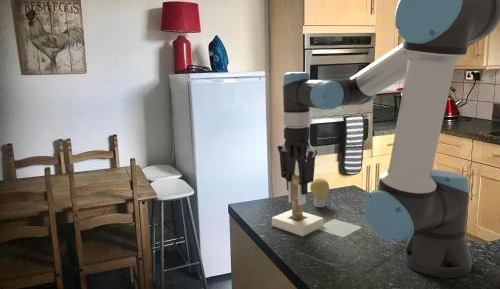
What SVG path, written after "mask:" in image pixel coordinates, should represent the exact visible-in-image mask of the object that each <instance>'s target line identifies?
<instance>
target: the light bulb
mask: <svg viewBox="0 0 500 289" xmlns="http://www.w3.org/2000/svg"><path fill="white" fill-rule="evenodd" d="M309 188H310V192H311V193H312V195H313V196H314V197H313V198H314V199H313V200H314V201H313V202H314V203H313V205H314V207H316V208H324V207H325V206H326V195H328V193H329V190H330V184H329V183H328V181H327V180H325V179H323V178H320V177H319V178H314V180H313V182H310V186H309Z"/></svg>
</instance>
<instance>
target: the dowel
mask: <svg viewBox="0 0 500 289" xmlns="http://www.w3.org/2000/svg"><path fill="white" fill-rule="evenodd" d="M299 183H300V177H299V173H294V174H292V202H291V210H292V220H295V221H301V220H303V212H304V210H303V209H304V207H303V205H304V204H303V205H298V184H299Z"/></svg>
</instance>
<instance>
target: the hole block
mask: <svg viewBox="0 0 500 289" xmlns="http://www.w3.org/2000/svg"><path fill="white" fill-rule="evenodd" d="M324 224H325V222H324V217H321V216H319V215H314V214H311V213H308V212H304V211H303V220H301V221H295V220H292V209H290V210H287V211H284V212H282V213H279V214H277V215H275V216H272V217H271V225H272V227H275V228H277V229H281V230H284V231H287V232H290V233H292V234H294V235H297V236H301V237H304V236H307V235H308V234H310V233H312V232H314V231H317V230H319V228H321V227H323V226H324Z"/></svg>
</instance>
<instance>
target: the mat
mask: <svg viewBox="0 0 500 289" xmlns="http://www.w3.org/2000/svg"><path fill="white" fill-rule="evenodd" d="M362 228H363V226H360V225H357V224H353V223H349V222H346V221H342V220H339V219H336V218H333V219H331V220H329V221H327V222H324V226H323V227H321V228H319V229H318V230H319V231H322V232H324V233H328V234H331V235H334V236H338V237H341V238H345V237H347V236H349V235H350V234H352V233H354V232H356V231H357V230H360V229H362Z"/></svg>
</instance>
